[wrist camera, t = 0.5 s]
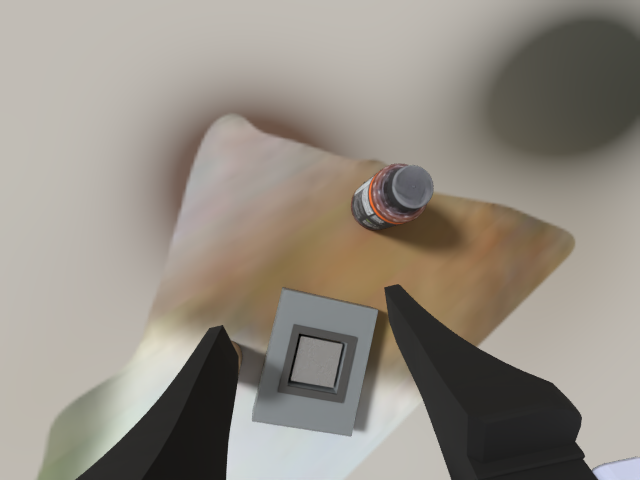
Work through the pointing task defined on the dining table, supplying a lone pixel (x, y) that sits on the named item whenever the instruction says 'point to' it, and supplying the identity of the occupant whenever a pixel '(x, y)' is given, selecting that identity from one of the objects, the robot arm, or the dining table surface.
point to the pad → (316, 361)
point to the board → (308, 399)
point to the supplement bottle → (392, 196)
